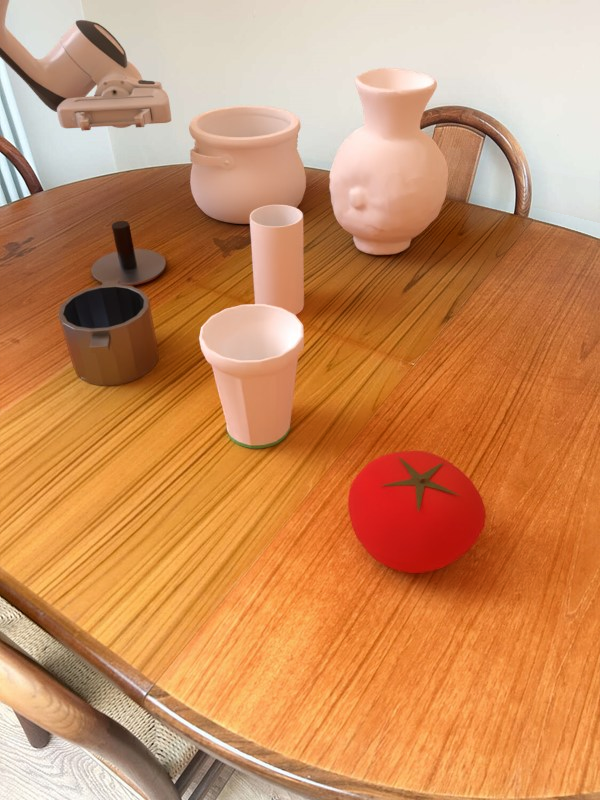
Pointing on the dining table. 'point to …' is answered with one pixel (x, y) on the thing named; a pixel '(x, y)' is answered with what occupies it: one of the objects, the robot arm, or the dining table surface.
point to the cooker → (109, 333)
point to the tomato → (415, 511)
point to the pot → (245, 161)
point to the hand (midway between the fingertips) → (112, 124)
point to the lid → (128, 260)
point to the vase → (389, 164)
